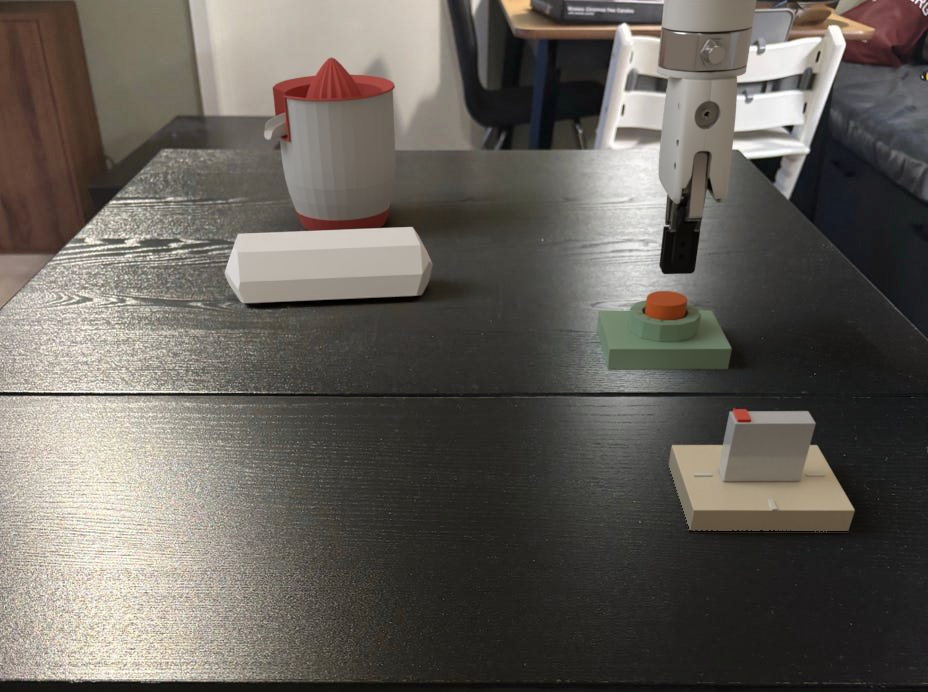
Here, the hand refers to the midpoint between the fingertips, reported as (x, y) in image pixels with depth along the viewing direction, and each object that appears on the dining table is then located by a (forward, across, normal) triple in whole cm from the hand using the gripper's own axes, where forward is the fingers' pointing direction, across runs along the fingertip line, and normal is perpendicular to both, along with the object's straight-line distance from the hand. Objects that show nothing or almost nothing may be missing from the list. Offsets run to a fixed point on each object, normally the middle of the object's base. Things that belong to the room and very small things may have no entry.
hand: (676, 270), depth 92 cm
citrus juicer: (+7, +42, +39) cm, 58 cm away
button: (+5, 0, +1) cm, 5 cm away
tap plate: (+8, -29, -2) cm, 30 cm away
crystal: (+7, +16, +37) cm, 41 cm away
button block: (+8, 0, +1) cm, 8 cm away
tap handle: (+6, -29, -2) cm, 30 cm away
